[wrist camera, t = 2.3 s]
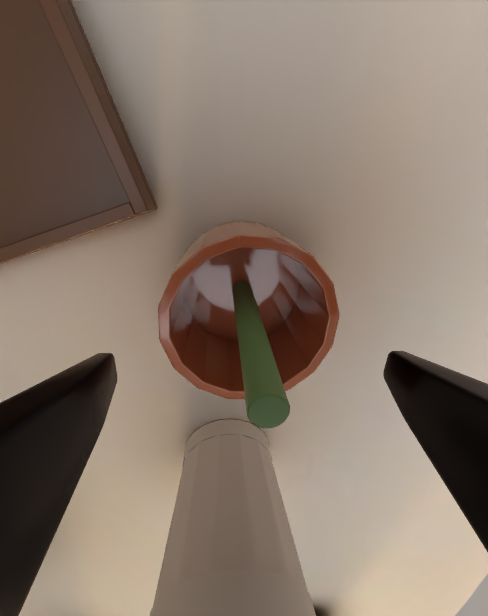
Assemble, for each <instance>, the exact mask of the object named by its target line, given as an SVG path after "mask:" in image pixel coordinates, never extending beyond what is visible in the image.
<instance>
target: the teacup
mask: <svg viewBox="0 0 488 616" xmlns="http://www.w3.org/2000/svg"><path fill="white" fill-rule="evenodd" d="M239 281H246V282H248V283H249V284H250V285H251V287H252V290H253V294H254V297H255V300H256V303H257V306H258V309H259V312H260V315H261V318H262V321H263V324H264V328H265V331H266V334H267V337H268V340H269V343H270V346H271V349H272V352H273V355H274V359H275V362H276V365H277V368H278V371H279V374H280V377H281V380H282V383H283V386H284V390H285V391H287V390H288V389H291V388H292V387H294V386H295V385H296V384H298V383H299V382H301V381H302V380H303V379H305V378H306V377H308V376H309V375H310V374H312V373H313V372H314V371H315V370H316V369H317V367H318V366H319V365H320V363H321V362H322V360H323V359H324V357H325V356H326V354H327V353H328V352H329V350H330V349H331V347H332V345H333V341H334V337H335V333H336V329H337V324H338V320H339V309H338V304H337V299H336V294H335V289H334V284H333V282H332V281H331V279H330V278H329V277H328V275H327V274H326V273H325V271H324V270H323V269H322V267H321V266H320V265H319V263H318V262H317V261H316V259H315V258H314V257H313V256H312V255H311V254H310V253H308V252H307V251H305V250H304V249H302V248H301V247H300V246H298V245H297V244H295V243H294V242H293V241H291V240H290V239H288V238H287V237H285V236H284V235H282V234H280V233H278V232H276V231H275V230H273V229H271V228H269V227H267V226H265V225H263V224H258V223H252V222H231V223H226V224H223V225H219V226H217V227H215V228H212V229H210V230H208V231H206V232H205V233H204V234H203V235H201V236H200V237H199V238H198V239H196V241H195V242H194V243H193V244H192V245H191V246H190V247H188V248H187V250H186V251H185V253H184V255H183V256H182V258H181V260H180V261H179V263H178V265H177V267H176V268H175V270H174V272H173V274H172V275H171V278H170V280H169V282H168V285H167V287H166V289H165V292H164V294H163V296H162V299H161V301H160V303H159V307H158V319H159V339H160V342H161V344H162V346H163V348H164V350H165V352H166V354H167V356H168V358H169V360H170V362H171V364H172V366H173V368H174V369H175V370H177V371H178V372H179V373H180V374H181V375H182V376H184V377H185V378H186V379H187V380H188V381H190V382H191V383H192V384H193V385H194V386H196V387H197V388H199V389H201V390H204V391H207V392H210V393H212V394H215V395H218V396H221V397H224V398H228V399H245V393H244V384H243V376H242V368H241V359H240V351H239V343H238V334H237V326H236V317H235V309H234V301H233V292H232V289H233V286H234V284H235V283H237V282H239Z"/></svg>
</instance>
